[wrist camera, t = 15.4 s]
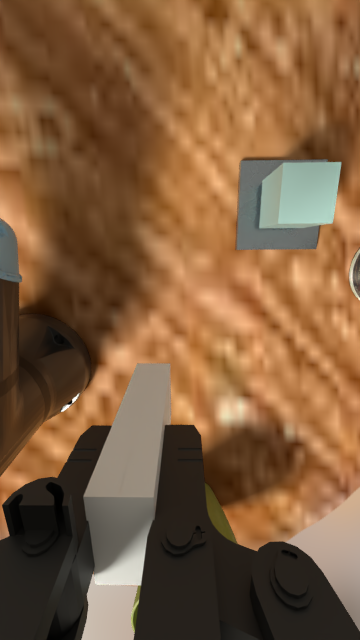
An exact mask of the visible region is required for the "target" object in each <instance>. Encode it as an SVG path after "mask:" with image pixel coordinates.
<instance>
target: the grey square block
mask: <svg viewBox="0 0 360 640" xmlns="http://www.w3.org/2000/svg"><path fill="white" fill-rule="evenodd" d="M327 161H328V159H324V160H253V161H240V165H239V185H238V206H237V227H236V248H235V250H252V249H316V246H317V239H318V231H319V226H312V227H306V228H259V223H260V209H261V195H262V181H263V180H264V179H265V178H266V177H267V176H268V175H270V174H271V173H272V172H273V171H274V170H276V169H277V168H278V167H279V166H280V165H281V164H283V163H302V162H327Z"/></svg>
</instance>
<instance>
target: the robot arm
mask: <svg viewBox="0 0 360 640" xmlns="http://www.w3.org/2000/svg"><path fill="white" fill-rule="evenodd" d="M19 282H22V276H21V275H20V274H19V264H18V246H17V238H16V235H15V233H14V231H13V229H12V228H11V227H10V226H9V225H8V224H7V223H6V222H5V221H4V220H2V219H1V218H0V476H1V475H2V474H3V473H4V471H5V470H6V469H7V468H8V466H9V465H10V464H11V463H12V461H13V460H14V459H15V458H16V456H17V455H18V454H19V453H20V451H21V450H22V449H23V447H24V446H25V445H26V444H27V442H28V441H29V440H30V439H31V437H32V436H33V435H34V434H35V432H36V431H37V430H38V429H39V427H40V426H41V425H42V423H43V422H45V421H47V420H48V419H50V418H52V417H54V416H55V415H57V414H59V413H60V412H62V411H64V410H66V409H67V408H69V407H70V406H71V405H72V404H74V403H75V402H76V401H77V399H78V398H79V397H80V395H81V394H82V393H83V391H84V390H85V388H86V386H87V384H88V382H89V379H90V375H91V361H90V356H89V353H88V351H87V348H86V346H85V344H84V343H83V341H82V340H81V338H80V337H79V336H78V335H77V333H76V332H75V331H74V330H72V329H71V328H70V327H69V326H67V325H66V324H64V323H63V322H61V321H59V320H57V319H55V318H52V317H49V316H46V315H41V314H23V315H19ZM170 423H171V384H170V364H137V365H136V368H135V370H134V373H133V375H132V378H131V380H130V383H129V385H128V388H127V390H126V393H125V395H124V398H123V400H122V402H121V405H120V407H119V410H118V412H117V415H116V417H115V420H114V422H113V425H112V426H91V427H90V428H89V429H88V430H87V431H85V432H84V433H83V434H82V435H81V436H80V438H79V439H78V441H77V443H76V445H75V447H74V449H73V451H72V452H71V454H70V456H69V458H68V460H67V462H66V463H65V465H64V467H63V469H62V470H61V472H60V474H59V476H58V478H54V477H48V478H41V479H37V480H35V481H33V482H30V483H28V484H25V485H24V486H23V487H21V488H20V489H18V490H17V491H15V492H14V493H13V494H12V495H11V496H10V497H9V498H8V499H7V500H6V501H5V502H4V504H3V505H2V507H3V511H4V515H5V519H6V523H7V527H8V531H9V535H10V536H9V537H7V538H5V539H2V540H0V640H81V638H82V634H83V631H84V627H85V623H86V619H87V611H88V601H87V592H88V588H89V585H90V581H91V578H92V574H93V571H94V577H95V584H96V585H141V588H140V596H139V604H138V611H137V619H136V627H135V634H134V640H360V631H359V630H358V628H357V626H356V625H355V623H354V622H353V620H352V618H351V617H350V615H349V614H348V612H347V610H346V609H345V607H344V606H343V604H342V602H341V601H340V599H339V598H338V596H337V594H336V593H335V591H334V590H333V588H332V587H331V585H330V583H329V582H328V580H327V578H326V577H325V575H324V574H323V572H322V571H321V569H320V568H319V567H318V566H317V565H316V563H315V562H314V561H313V560H312V558H311V557H310V556H308V555H307V554H306V553H304V552H303V551H302V550H300V549H299V548H298V547H296V546H293V545H291V544H288V543H285V542H269V543H267V544H265V545H264V546H262V547H260V548H259V550H258V551H254V550H252V549H249V548H246V547H244V546H241V545H239V544H236V543H234V542H232V541H230V540H228V539H227V538H226V537H224V536H223V535H222V534H221V533H220V532H219V531H218V530H217V529H216V528H215V526H214V525H213V524H212V521H211V519H210V517H209V515H208V510H207V503H206V491H205V479H204V467H203V456H202V444H201V435H200V434H199V432H198V431H197V429H196V428H195V426H194V425H170Z"/></svg>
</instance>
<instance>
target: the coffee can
mask: <svg viewBox="0 0 360 640" xmlns="http://www.w3.org/2000/svg"><path fill="white" fill-rule="evenodd" d="M349 281H350V286H351V289H352V291H353V293H354V294H355V296H356V297H357V298H358V299H359V300H360V248H359V250H358V251H357V253H356V254H355V256H354V258H353V260H352V263H351V267H350V272H349Z"/></svg>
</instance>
